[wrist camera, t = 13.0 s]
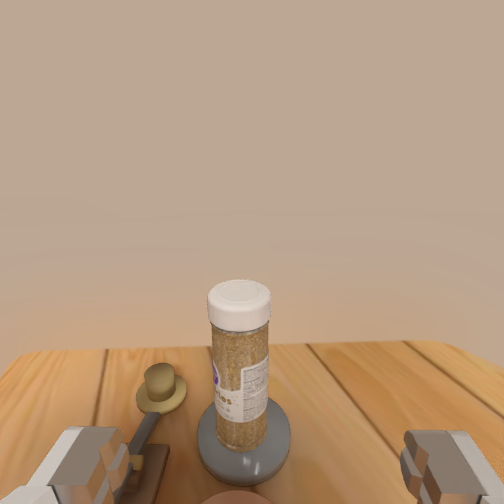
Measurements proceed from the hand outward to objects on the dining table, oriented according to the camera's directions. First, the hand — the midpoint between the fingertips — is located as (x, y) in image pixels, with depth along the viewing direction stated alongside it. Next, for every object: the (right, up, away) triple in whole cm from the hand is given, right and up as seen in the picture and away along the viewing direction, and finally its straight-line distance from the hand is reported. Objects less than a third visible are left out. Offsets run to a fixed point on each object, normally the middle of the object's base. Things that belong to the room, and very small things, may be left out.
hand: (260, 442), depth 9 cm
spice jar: (-1, -10, +17) cm, 20 cm away
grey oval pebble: (-1, -11, +18) cm, 21 cm away
